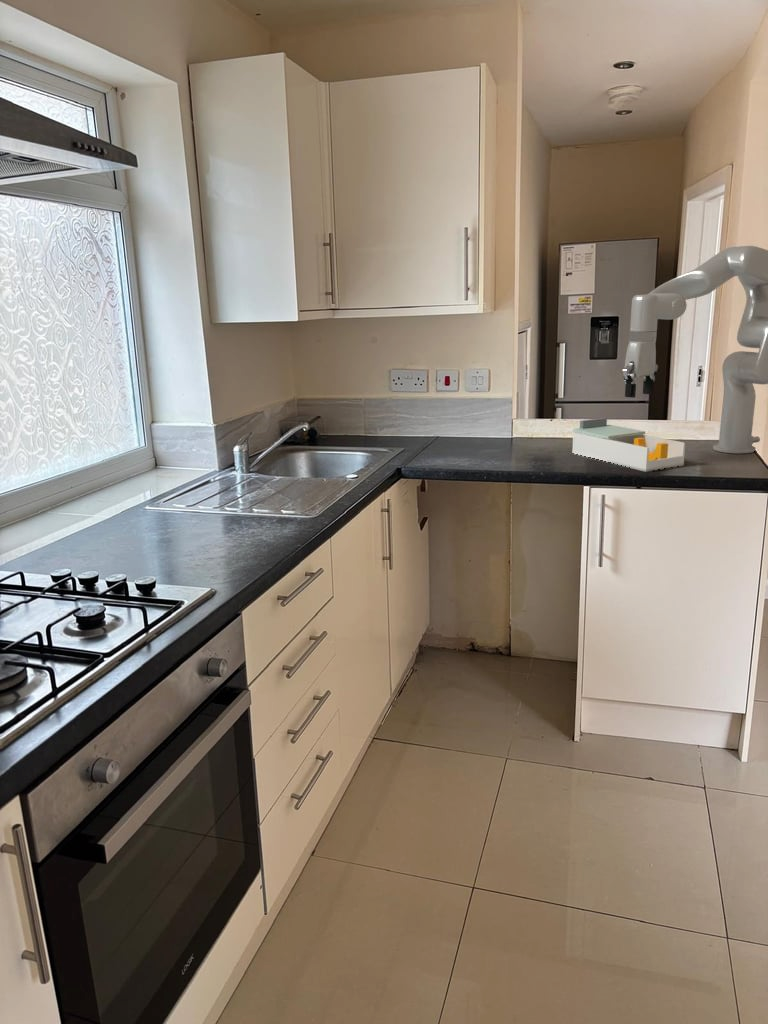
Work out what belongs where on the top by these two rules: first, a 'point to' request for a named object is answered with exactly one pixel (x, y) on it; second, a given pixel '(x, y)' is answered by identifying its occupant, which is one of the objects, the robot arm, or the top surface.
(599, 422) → the lid
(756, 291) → the robot arm
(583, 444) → the housing
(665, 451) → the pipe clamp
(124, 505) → the top surface
